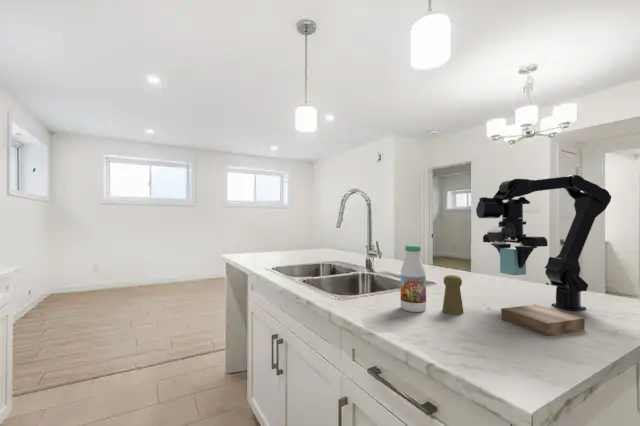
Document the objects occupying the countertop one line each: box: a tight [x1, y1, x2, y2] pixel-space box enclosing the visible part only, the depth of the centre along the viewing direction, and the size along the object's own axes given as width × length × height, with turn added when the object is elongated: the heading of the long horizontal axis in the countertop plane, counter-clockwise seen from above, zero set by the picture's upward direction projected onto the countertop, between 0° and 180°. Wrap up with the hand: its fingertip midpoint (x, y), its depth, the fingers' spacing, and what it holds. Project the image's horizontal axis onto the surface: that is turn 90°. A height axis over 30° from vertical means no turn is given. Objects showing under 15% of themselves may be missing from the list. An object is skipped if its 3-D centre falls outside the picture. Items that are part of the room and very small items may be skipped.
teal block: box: [499, 247, 527, 276], centre depth 99 cm, size 5×5×8 cm
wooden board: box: [500, 304, 586, 337], centre depth 83 cm, size 13×13×3 cm
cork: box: [442, 274, 464, 316], centre depth 94 cm, size 6×6×11 cm
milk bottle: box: [400, 244, 427, 313], centre depth 97 cm, size 8×8×20 cm
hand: (512, 266), depth 99 cm, fingers closed on teal block, 5 cm apart
